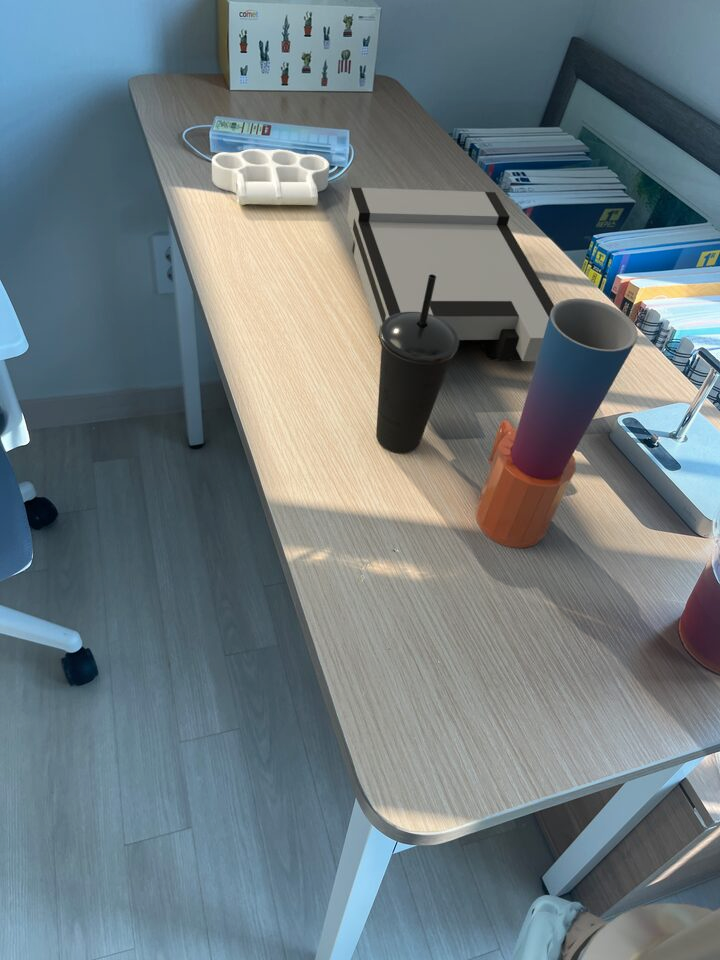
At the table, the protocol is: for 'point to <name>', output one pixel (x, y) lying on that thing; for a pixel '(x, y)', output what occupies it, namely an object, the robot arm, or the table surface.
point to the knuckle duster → (271, 176)
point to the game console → (449, 266)
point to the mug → (517, 496)
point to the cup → (570, 382)
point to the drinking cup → (411, 373)
